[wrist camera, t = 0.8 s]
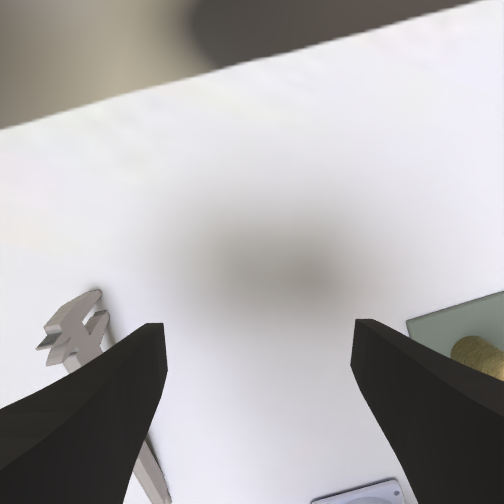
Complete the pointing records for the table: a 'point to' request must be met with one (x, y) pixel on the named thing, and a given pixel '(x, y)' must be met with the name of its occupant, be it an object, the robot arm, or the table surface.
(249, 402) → the table surface
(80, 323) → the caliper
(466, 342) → the pin
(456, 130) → the table surface
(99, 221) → the table surface
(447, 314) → the mat
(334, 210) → the table surface
